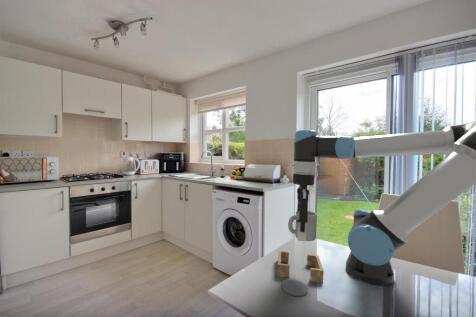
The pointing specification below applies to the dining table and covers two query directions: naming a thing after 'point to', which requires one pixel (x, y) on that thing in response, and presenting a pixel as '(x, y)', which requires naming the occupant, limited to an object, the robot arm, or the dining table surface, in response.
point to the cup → (310, 225)
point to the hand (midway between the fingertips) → (300, 236)
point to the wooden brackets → (312, 261)
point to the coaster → (294, 287)
